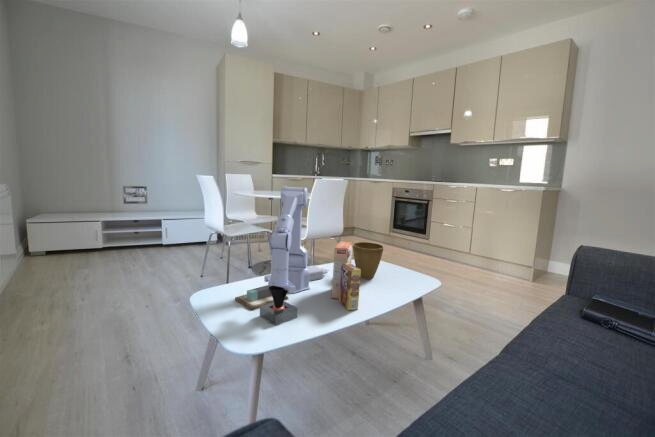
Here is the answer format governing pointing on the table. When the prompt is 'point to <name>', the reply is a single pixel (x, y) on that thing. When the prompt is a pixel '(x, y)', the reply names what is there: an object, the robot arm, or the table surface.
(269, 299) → the wooden picture frame
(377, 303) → the table surface
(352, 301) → the candy box
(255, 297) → the marker
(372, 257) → the plant pot
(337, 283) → the cracker box
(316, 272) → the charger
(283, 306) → the button
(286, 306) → the button housing
